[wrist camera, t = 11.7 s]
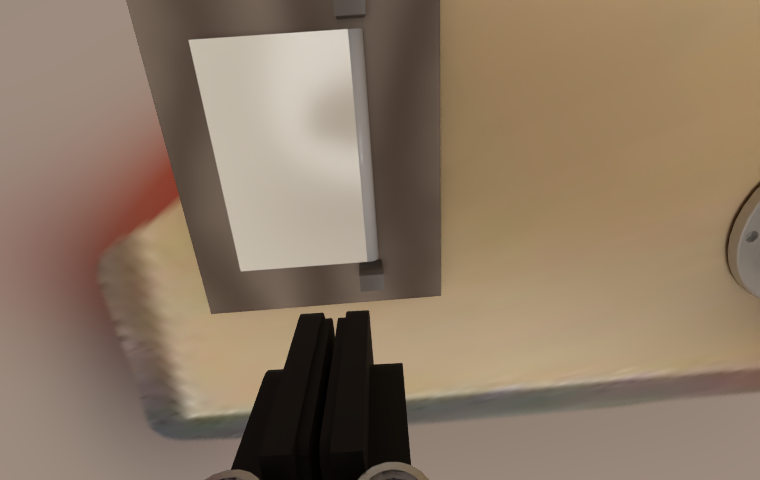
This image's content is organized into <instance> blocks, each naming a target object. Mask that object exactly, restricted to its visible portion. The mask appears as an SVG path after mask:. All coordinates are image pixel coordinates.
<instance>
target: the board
mask: <svg viewBox="0 0 760 480" xmlns="http://www.w3.org/2000/svg"><path fill="white" fill-rule="evenodd" d="M126 1H127V5H128V8H129V12H130V16H131V19H132V23H133V27H134V31H135V34H136V38H137V42H138V45H139V49H140V53H141V56H142V60H143V64H144V67H145V71H146V75H147V78H148V82H149V86H150V89H151V93H152V97H153V100H154V104H155V108H156V112H157V115H158V119H159V123H160V126H161V130H162V134H163V137H164V141H165V145H166V148H167V152H168V156H169V159H170V162H171V167H172V170H173V174H174V178H175V181H176V185H177V189H178V193H179V196H180V200H181V204H182V207H183V211H184V215H185V218H186V222H187V226H188V229H189V233H190V237H191V241H192V244H193V248H194V252H195V255H196V259H197V263H198V266H199V270H200V274H201V277H202V281H203V285H204V288H205V292H206V296H207V299H208V303H209V307H210V310H211V314H217V313H230V312H242V311H255V310H268V309H280V308H293V307H305V306H318V305H331V304H343V303H356V302H368V301H381V300H394V299H406V298H419V297H431V296H441V208H440V0H126ZM356 28H362V29H363V41H364V55H365V69H366V83H367V97H368V111H369V125H370V139H371V153H372V167H373V181H374V195H375V209H376V223H377V237H378V251H379V258H378V259H377V260H375V261H371V262H359V263H346V264H332V265H319V266H306V267H293V268H280V269H266V270H253V271H241V270H240V266H239V262H238V257H237V253H236V248H235V244H234V240H233V235H232V231H231V226H230V222H229V217H228V213H227V209H226V204H225V200H224V195H223V191H222V186H221V182H220V178H219V173H218V169H217V164H216V160H215V156H214V151H213V147H212V142H211V138H210V133H209V129H208V125H207V120H206V116H205V111H204V107H203V102H202V98H201V94H200V89H199V85H198V80H197V76H196V71H195V67H194V63H193V58H192V54H191V49H190V45H189V41H188V40H194V39H208V38H223V37H238V36H253V35H267V34H282V33H297V32H311V31H326V30H341V29H356Z"/></svg>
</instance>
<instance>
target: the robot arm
mask: <svg viewBox="0 0 760 480" xmlns="http://www.w3.org/2000/svg"><path fill="white" fill-rule="evenodd" d="M728 262H729V266H730V269H731V272H732V275H733V276H734V278H735V279H736V281H737V282H738V283H739V285H741V286H742V287H743V288H744V289H746V290H747V291H748V292H750V293H751V294H753V295H755V296H757V297H758V298H760V187H759V188H758V189H757V190H756V191H755V192H754V193H753V194H752V196H751V197H750V198H749V200H748V201H747V202H746V204H745V205H744V206H743V208H742V210H741V212H740V214H739V215H738V217H737V219H736V221H735V224H734V226H733V229H732V232H731V235H730V239H729V246H728ZM205 480H429V479H428V478H427V477H426V476H425V475H424V474H423V473H422V472H421V471H420V470H418V469H417V468H415V467H413V466H411V460H410V448H409V436H408V424H407V412H406V400H405V388H404V376H403V364H402V363H395V364H376V365H374V363H373V351H372V339H371V327H370V316H369V310H366V311H348V312H347V313H346V318H338V322H337V329H336V336H335V334H334V326H333V320H332V318H328V319H325V316H324V314H323V313H312V314H301V315H300V317H299V320H298V323H297V327H296V330H295V333H294V337H293V340H292V343H291V347H290V350H289V353H288V357H287V360H286V363H285V366H284V369H281V370H268V371H267V372H266V374H265V376H264V378H263V381H262V384H261V386H260V389H259V392H258V395H257V398H256V401H255V403H254V406H253V409H252V412H251V415H250V417H249V420H248V423H247V426H246V429H245V431H244V434H243V437H242V440H241V443H240V446H239V448H238V451H237V454H236V457H235V460H234V462H233V465H232V468H231V470H226V471H223V472H220V473H217V474H214V475H212V476H210V477H209V478H207V479H205Z"/></svg>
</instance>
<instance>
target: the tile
mask: <svg viewBox="0 0 760 480" xmlns="http://www.w3.org/2000/svg"><path fill="white" fill-rule="evenodd" d="M188 41H189V45H190V49H191V54H192V58H193V63H194V67H195V71H196V76H197V80H198V85H199V89H200V94H201V98H202V102H203V107H204V111H205V116H206V120H207V125H208V129H209V133H210V138H211V142H212V147H213V151H214V156H215V160H216V164H217V169H218V173H219V178H220V182H221V186H222V191H223V195H224V200H225V204H226V209H227V213H228V217H229V222H230V226H231V231H232V235H233V240H234V244H235V248H236V253H237V257H238V262H239V266H240V270H241V271H253V270H266V269H280V268H293V267H306V266H319V265H332V264H346V263H359V262H371V261H375V260H377V259H378V258H379V251H378V237H377V223H376V209H375V195H374V181H373V167H372V153H371V139H370V125H369V111H368V97H367V83H366V69H365V55H364V41H363V29H362V28H356V29H341V30H326V31H311V32H297V33H282V34H267V35H253V36H238V37H223V38H208V39H194V40H188Z"/></svg>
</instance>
